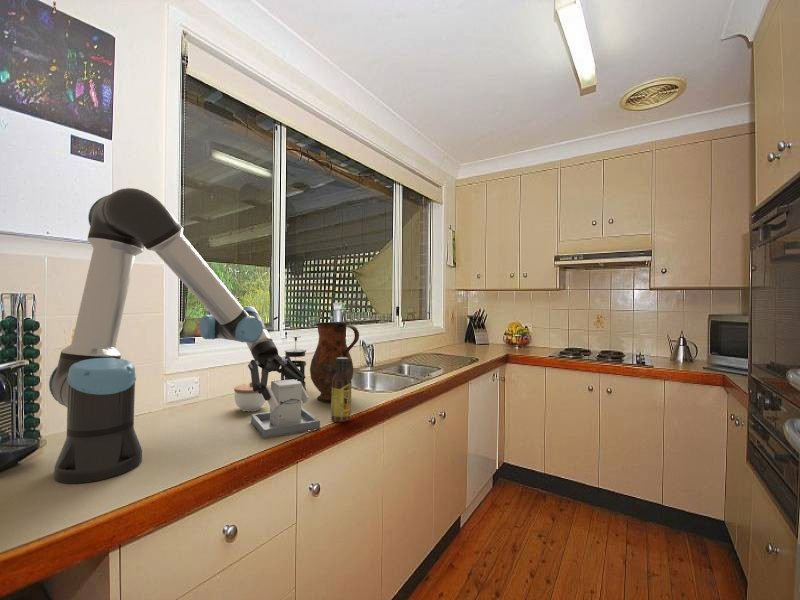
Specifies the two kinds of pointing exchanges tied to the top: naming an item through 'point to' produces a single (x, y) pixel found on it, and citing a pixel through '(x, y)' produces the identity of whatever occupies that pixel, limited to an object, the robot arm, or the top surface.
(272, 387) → the supplement box
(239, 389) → the lidded jar
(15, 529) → the top surface
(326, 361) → the pitcher
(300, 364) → the french press
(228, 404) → the top surface
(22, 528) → the top surface
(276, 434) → the tray
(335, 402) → the sauce bottle
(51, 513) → the top surface
